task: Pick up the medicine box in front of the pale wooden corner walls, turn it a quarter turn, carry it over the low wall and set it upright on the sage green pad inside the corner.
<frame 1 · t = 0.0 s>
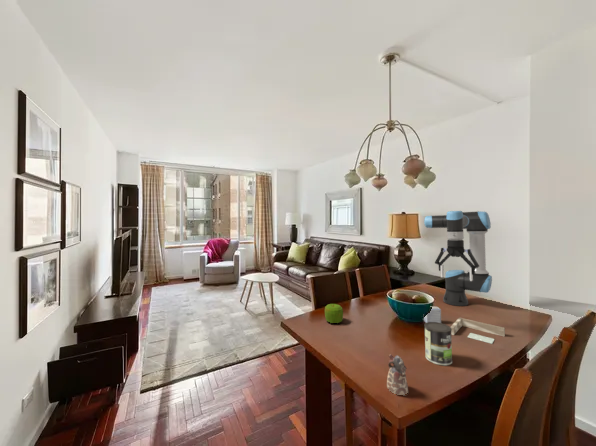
hand: (456, 278, 134), 28 cm above the table, tool pointing down, fingers open, 13 cm apart
figurine: (397, 389, 89), on the table
coffee can: (438, 359, 107), on the table
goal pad: (480, 338, 124), on the table
corner walls: (476, 335, 127), on the table
apple: (334, 322, 150), on the table
medicine box: (432, 322, 145), on the table
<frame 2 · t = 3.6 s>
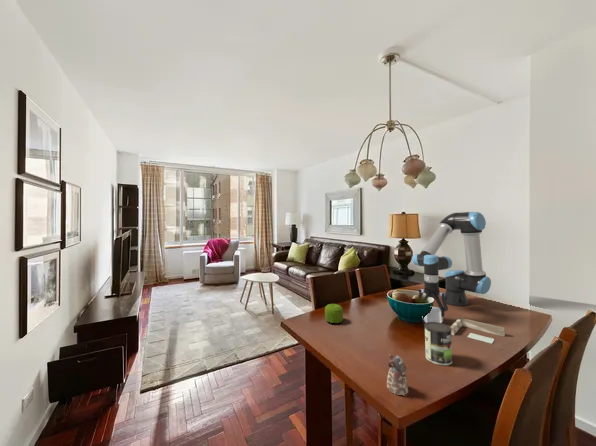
hand: (432, 319, 145), 1 cm above the table, tool pointing down, fingers closed on medicine box, 9 cm apart
medicine box: (432, 322, 145), on the table, touching gripper
everything else where it was.
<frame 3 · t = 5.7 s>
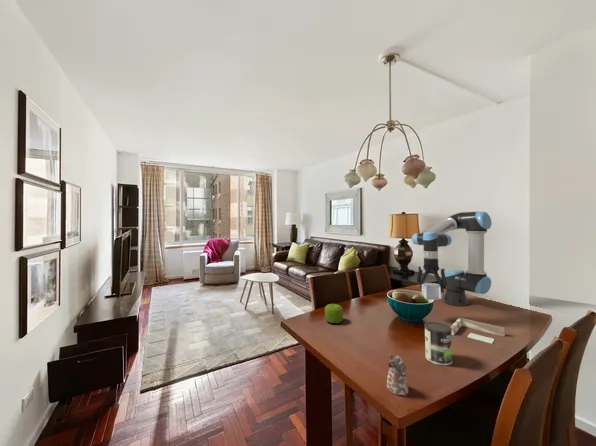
hand: (431, 296, 145), 15 cm above the table, tool pointing down, fingers closed on medicine box, 9 cm apart
medicine box: (432, 299, 145), point 14 cm above the table, touching gripper
everything else where it was.
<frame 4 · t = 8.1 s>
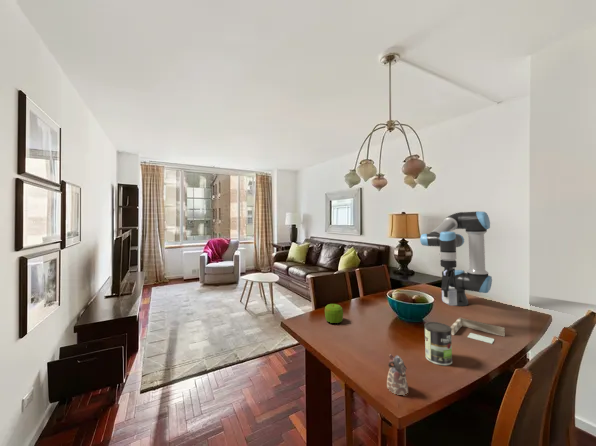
hand: (449, 300, 136), 15 cm above the table, tool pointing down, fingers closed on medicine box, 9 cm apart
medicine box: (449, 303, 136), point 14 cm above the table, touching gripper
everything else where it was.
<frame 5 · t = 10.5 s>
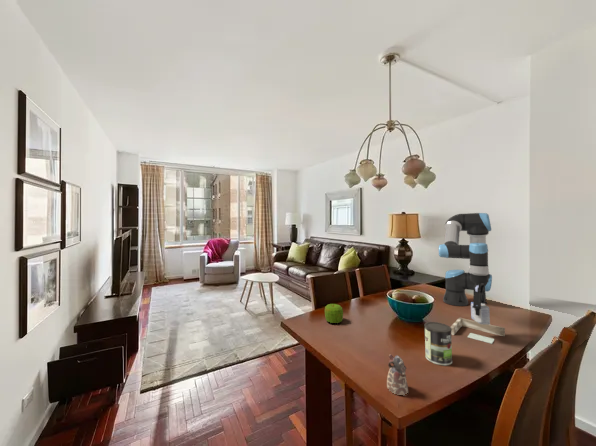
hand: (480, 318, 124), 10 cm above the table, tool pointing down, fingers closed on medicine box, 9 cm apart
medicine box: (480, 321, 124), point 8 cm above the table, touching gripper
everything else where it was.
when the fingers open (3 cm above the table, at t = 12.6 s): medicine box drops 1 cm, resting on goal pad.
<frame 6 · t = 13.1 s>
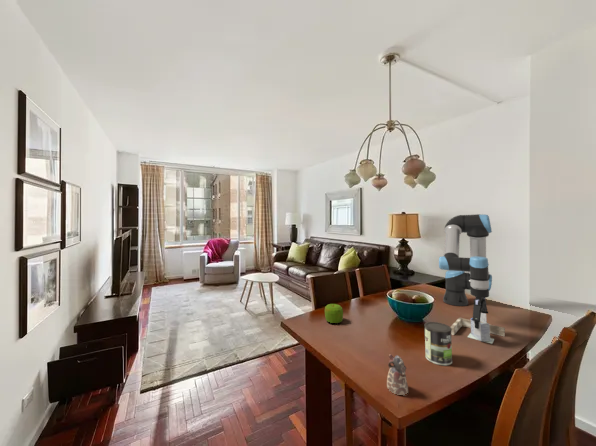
hand: (480, 330, 124), 4 cm above the table, tool pointing down, fingers open, 13 cm apart
medicine box: (480, 338, 124), resting on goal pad
everything else where it was.
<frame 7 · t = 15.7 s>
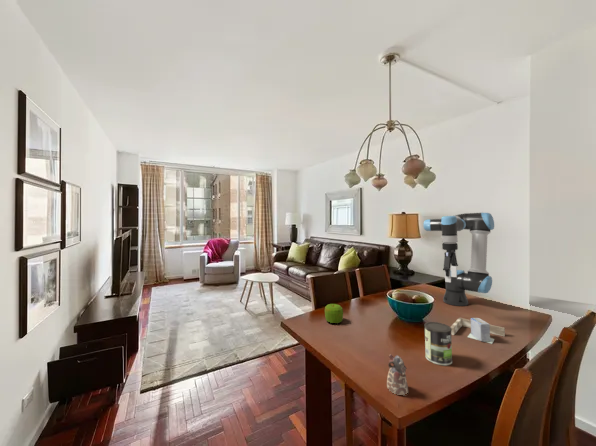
hand: (451, 279, 142), 25 cm above the table, tool pointing down, fingers open, 13 cm apart
nothing on the table moved.
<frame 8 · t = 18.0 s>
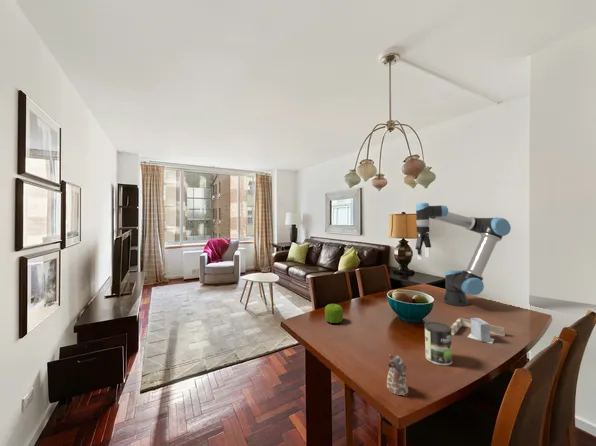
hand: (423, 258, 164), 35 cm above the table, tool pointing down, fingers open, 13 cm apart
nothing on the table moved.
at the end: medicine box inside the target area (0.3 cm from its centre), resting on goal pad; medicine box tilted 0°; the gripper is holding nothing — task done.
